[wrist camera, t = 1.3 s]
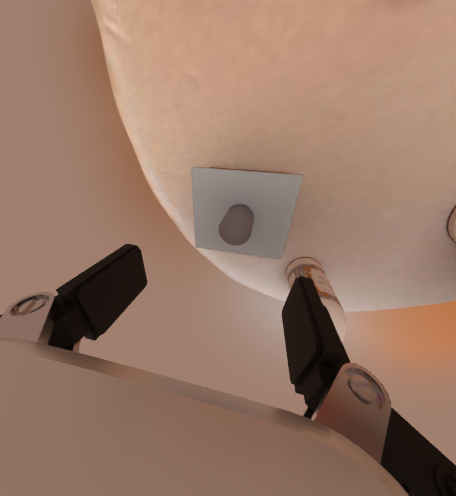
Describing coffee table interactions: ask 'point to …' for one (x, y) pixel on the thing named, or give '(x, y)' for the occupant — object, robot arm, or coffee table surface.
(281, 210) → the lid
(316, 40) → the coffee table surface
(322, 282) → the bath foam
